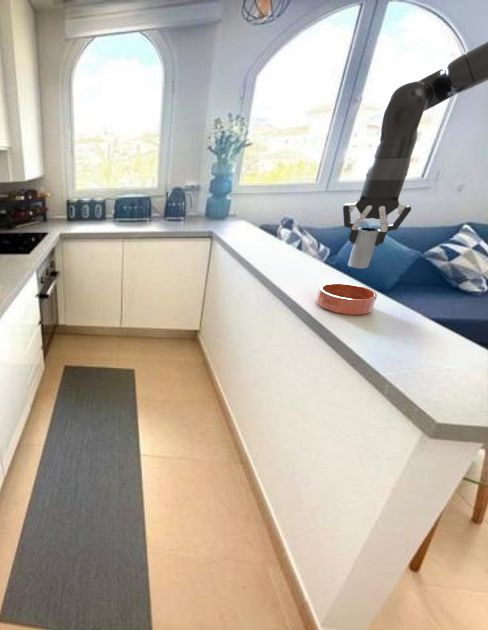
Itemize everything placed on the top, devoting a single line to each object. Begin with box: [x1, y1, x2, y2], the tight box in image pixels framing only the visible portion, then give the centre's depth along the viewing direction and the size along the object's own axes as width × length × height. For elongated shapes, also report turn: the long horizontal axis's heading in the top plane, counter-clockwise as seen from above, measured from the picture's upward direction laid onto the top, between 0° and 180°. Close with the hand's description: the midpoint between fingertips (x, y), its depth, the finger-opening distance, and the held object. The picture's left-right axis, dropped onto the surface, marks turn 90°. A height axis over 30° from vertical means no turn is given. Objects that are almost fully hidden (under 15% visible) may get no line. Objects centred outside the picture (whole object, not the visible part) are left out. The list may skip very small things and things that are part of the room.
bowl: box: [315, 282, 378, 316], centre depth 101 cm, size 13×13×5 cm
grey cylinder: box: [347, 227, 381, 269], centre depth 94 cm, size 4×4×10 cm
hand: (364, 243), depth 93 cm, fingers closed on grey cylinder, 4 cm apart
